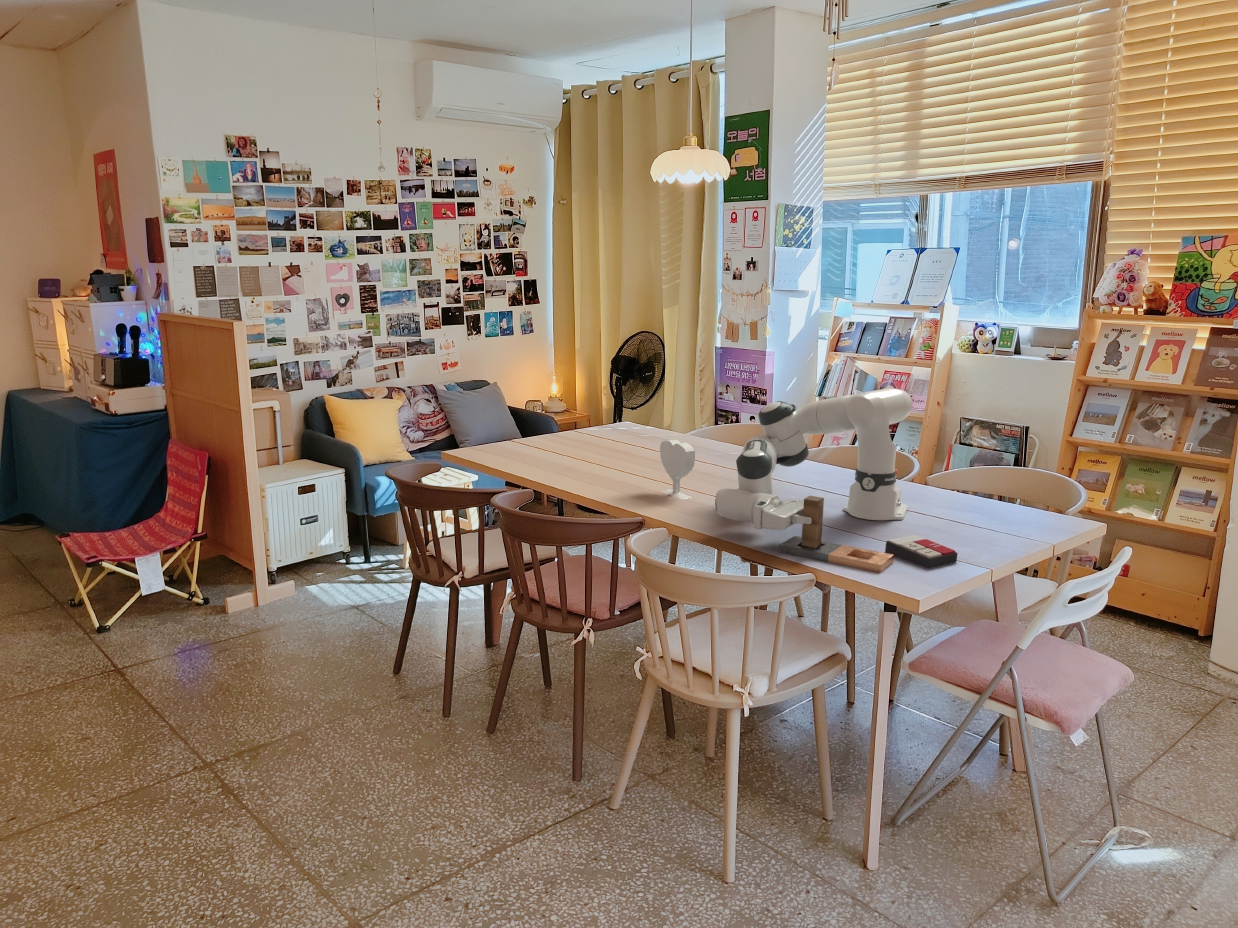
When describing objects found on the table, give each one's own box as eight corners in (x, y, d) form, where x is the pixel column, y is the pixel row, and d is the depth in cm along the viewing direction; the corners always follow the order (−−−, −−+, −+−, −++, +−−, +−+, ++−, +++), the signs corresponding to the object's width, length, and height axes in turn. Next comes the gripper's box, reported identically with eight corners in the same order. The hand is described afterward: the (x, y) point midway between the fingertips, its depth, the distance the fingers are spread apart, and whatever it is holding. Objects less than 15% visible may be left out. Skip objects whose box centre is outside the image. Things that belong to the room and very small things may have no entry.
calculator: (929, 556, 232) (885, 538, 244) (927, 572, 233) (884, 553, 245) (958, 550, 237) (914, 532, 250) (956, 565, 238) (912, 547, 251)
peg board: (794, 542, 253) (794, 535, 252) (893, 561, 237) (894, 554, 237) (778, 551, 245) (779, 544, 244) (880, 572, 229) (881, 564, 229)
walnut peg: (807, 541, 247) (809, 495, 244) (821, 544, 245) (823, 497, 242) (801, 545, 244) (803, 498, 241) (815, 547, 242) (818, 500, 239)
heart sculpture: (695, 498, 298) (697, 445, 294) (683, 500, 296) (684, 446, 292) (669, 488, 311) (670, 437, 307) (657, 490, 309) (658, 438, 305)
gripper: (783, 512, 259) (830, 520, 251) (751, 529, 242) (800, 538, 235) (784, 491, 257) (831, 498, 250) (752, 507, 241) (801, 515, 233)
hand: (816, 518), depth 242 cm, fingers closed on walnut peg, 4 cm apart
